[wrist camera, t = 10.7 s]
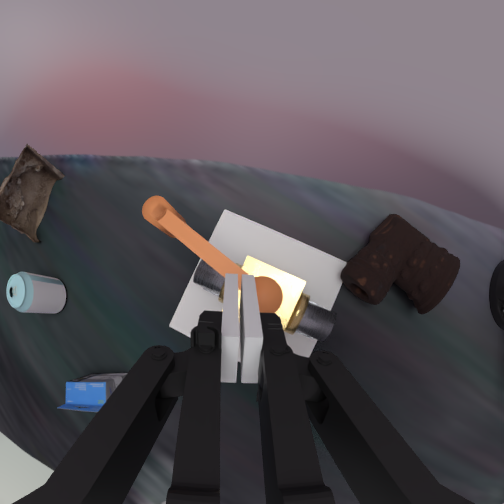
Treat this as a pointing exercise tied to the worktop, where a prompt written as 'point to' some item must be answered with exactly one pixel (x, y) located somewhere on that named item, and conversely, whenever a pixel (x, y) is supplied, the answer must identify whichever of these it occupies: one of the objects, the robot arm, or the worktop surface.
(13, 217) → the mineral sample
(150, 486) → the worktop surface
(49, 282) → the can
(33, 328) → the worktop surface
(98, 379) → the label tape cartridge
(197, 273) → the valve
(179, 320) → the mount board
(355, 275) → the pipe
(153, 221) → the lever
